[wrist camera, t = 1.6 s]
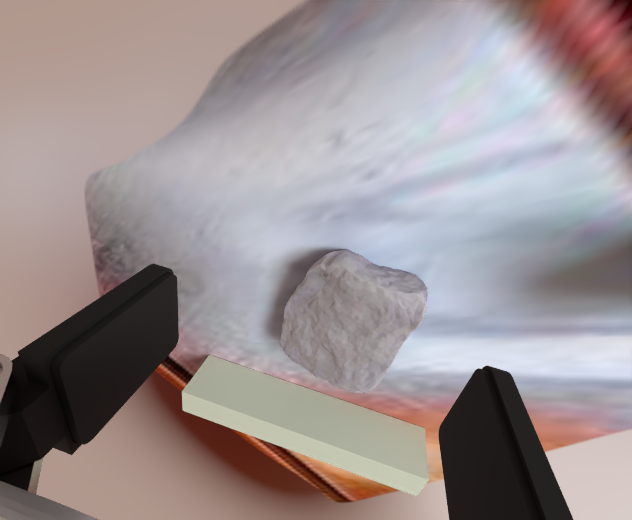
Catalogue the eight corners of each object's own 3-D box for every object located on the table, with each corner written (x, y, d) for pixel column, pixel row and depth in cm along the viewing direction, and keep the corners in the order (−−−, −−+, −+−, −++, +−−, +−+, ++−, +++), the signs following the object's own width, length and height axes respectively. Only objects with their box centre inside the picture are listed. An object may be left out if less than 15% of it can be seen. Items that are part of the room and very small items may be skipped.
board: (209, 354, 34) (182, 391, 30) (424, 428, 32) (428, 480, 27) (208, 372, 36) (182, 410, 32) (414, 444, 33) (416, 496, 29)
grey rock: (289, 324, 32) (376, 377, 30) (264, 351, 28) (362, 414, 26) (329, 224, 27) (439, 280, 24) (305, 240, 23) (434, 309, 20)
